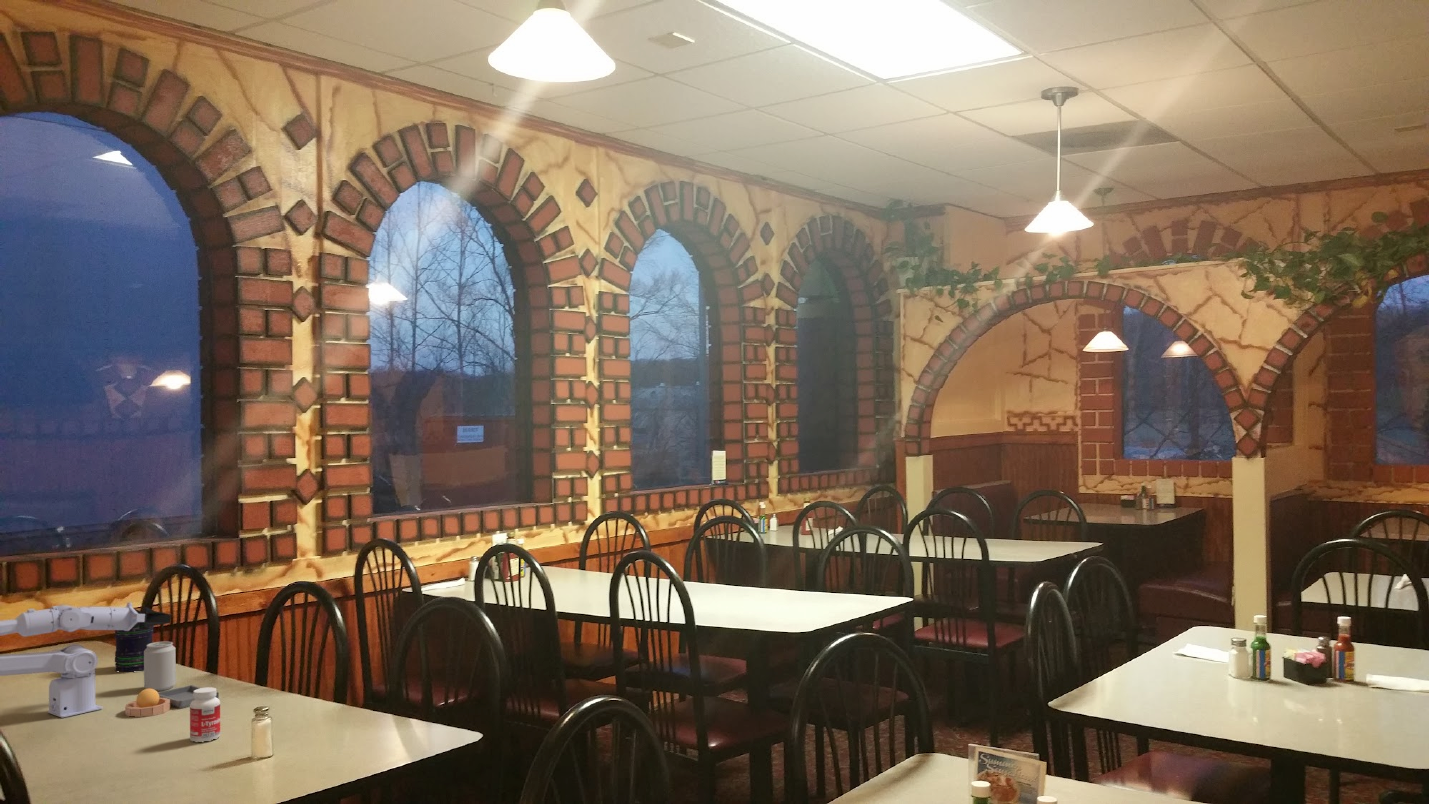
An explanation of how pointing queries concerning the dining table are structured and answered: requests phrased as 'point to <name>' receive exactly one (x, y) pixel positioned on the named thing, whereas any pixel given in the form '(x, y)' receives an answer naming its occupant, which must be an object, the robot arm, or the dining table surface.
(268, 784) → the dining table surface
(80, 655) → the robot arm
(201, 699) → the pill bottle
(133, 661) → the storage jar
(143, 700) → the ball
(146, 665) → the can
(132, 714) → the dish
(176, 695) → the tray
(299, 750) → the dining table surface
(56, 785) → the dining table surface
